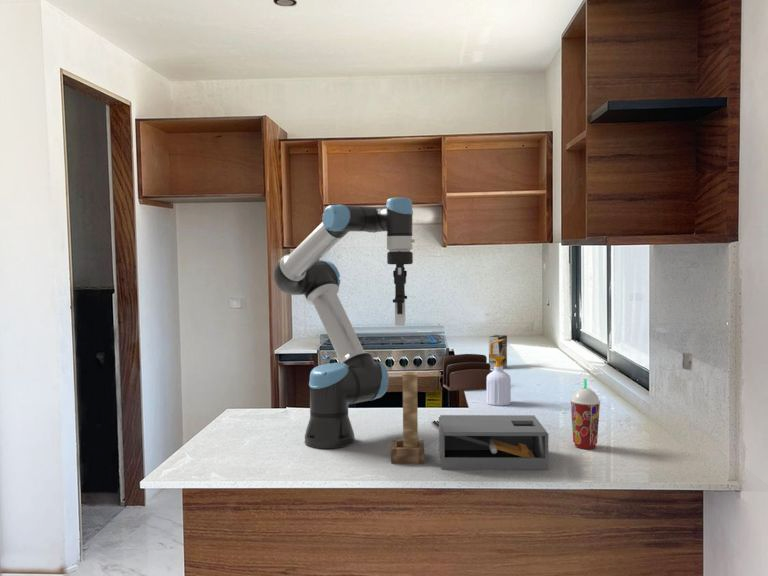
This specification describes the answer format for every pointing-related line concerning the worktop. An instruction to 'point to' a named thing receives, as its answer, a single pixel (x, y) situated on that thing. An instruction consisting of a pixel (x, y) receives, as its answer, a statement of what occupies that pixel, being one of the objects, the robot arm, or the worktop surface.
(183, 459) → the worktop surface
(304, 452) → the worktop surface
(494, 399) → the soap bottle
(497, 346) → the coffee box
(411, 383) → the light wood square bar
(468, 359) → the letter holder
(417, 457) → the square wooden socket
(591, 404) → the smoothie
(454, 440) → the box
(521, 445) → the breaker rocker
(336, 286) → the robot arm
